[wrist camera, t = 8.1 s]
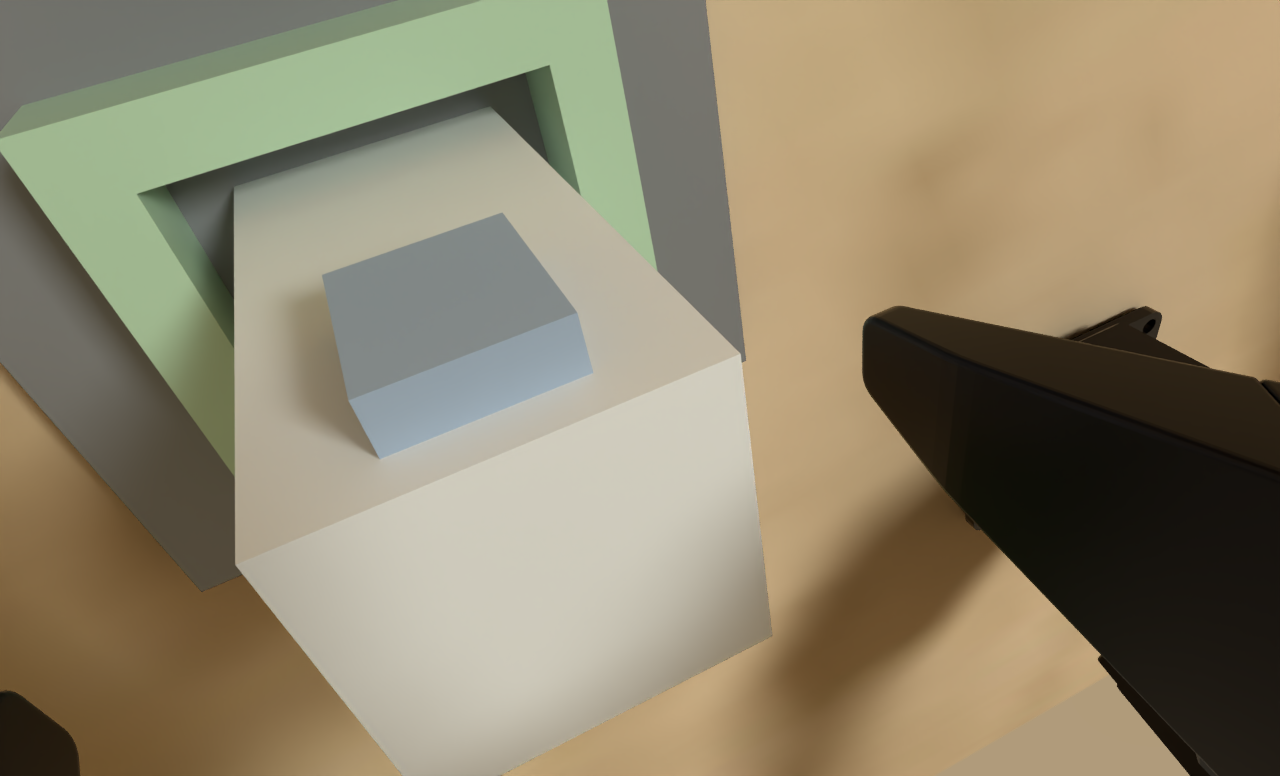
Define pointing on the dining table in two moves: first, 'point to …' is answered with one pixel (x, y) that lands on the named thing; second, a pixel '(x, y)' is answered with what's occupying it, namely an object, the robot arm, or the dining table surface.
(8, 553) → the dining table surface
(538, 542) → the plug
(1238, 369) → the dining table surface
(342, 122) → the panel
